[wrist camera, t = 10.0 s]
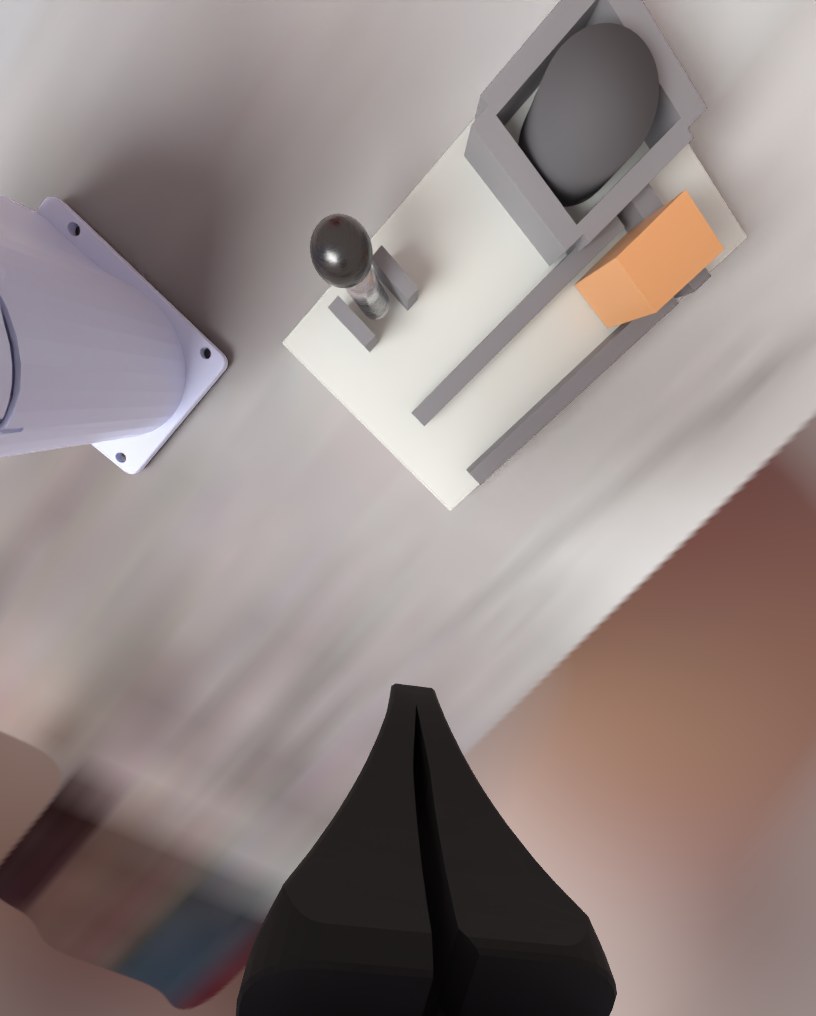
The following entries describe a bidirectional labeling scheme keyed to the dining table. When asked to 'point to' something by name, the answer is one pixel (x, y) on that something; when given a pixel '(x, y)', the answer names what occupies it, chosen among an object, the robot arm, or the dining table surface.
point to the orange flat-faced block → (650, 263)
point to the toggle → (348, 262)
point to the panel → (503, 275)
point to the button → (591, 110)
